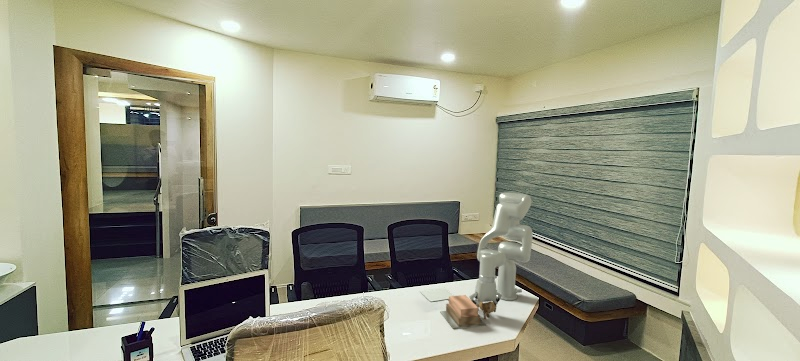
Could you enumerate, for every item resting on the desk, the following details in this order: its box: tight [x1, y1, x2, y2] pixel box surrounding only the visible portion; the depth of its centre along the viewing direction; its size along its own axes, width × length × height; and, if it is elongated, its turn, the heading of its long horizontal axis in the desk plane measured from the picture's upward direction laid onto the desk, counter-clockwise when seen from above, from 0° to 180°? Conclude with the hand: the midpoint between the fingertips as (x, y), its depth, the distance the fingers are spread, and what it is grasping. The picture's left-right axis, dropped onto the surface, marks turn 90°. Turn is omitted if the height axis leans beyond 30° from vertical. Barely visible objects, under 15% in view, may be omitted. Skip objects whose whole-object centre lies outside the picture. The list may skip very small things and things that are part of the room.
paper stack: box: [419, 287, 455, 302], centre depth 179 cm, size 23×25×1 cm
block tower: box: [439, 294, 487, 330], centre depth 159 cm, size 17×16×9 cm
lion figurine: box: [478, 301, 497, 320], centre depth 164 cm, size 15×5×9 cm, turn 34°
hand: (484, 311), depth 162 cm, fingers open, 9 cm apart
